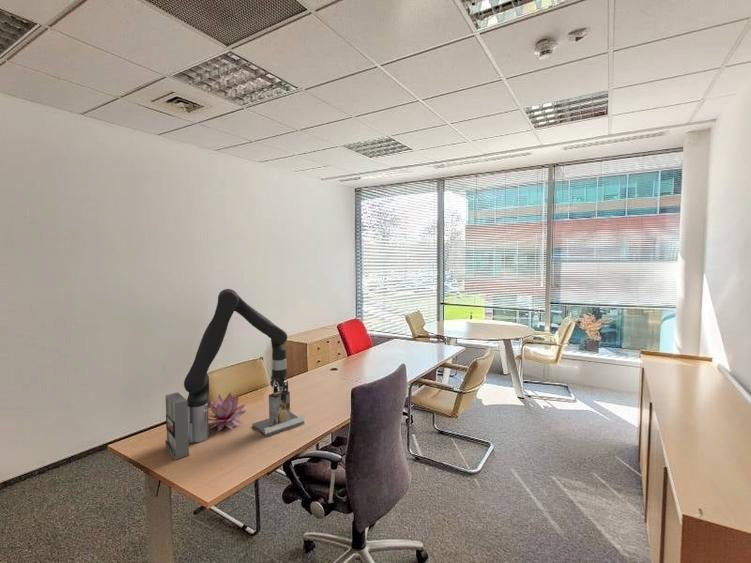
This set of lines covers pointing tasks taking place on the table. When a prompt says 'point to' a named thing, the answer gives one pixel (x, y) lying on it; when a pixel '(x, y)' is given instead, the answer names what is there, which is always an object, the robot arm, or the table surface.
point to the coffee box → (278, 408)
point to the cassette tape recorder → (177, 425)
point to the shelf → (278, 425)
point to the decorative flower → (225, 412)
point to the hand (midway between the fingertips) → (279, 397)
